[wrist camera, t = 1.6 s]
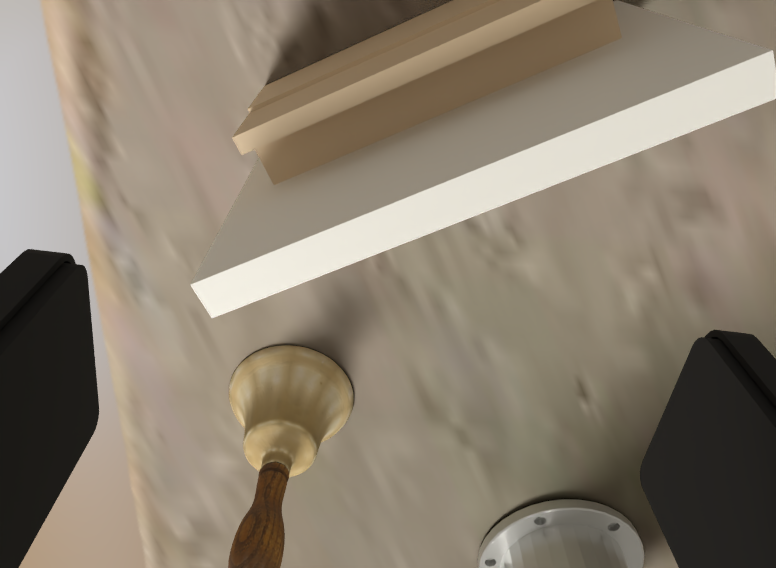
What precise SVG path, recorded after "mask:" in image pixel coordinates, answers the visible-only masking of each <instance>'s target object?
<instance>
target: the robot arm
mask: <svg viewBox="0 0 776 568" xmlns="http://www.w3.org/2000/svg"><path fill="white" fill-rule="evenodd" d="M98 415H99V403H98V391H97V379H96V368H95V357H94V345H93V333H92V322H91V312H90V299H89V288H88V276H87V271H86V268H85V267H84V266H83V265H77V264H75V261H74V259H73V257H72V256H71V255H70V254H67V253H57V252H49V251H40V250H32V249H28V250H26V251H24V252H23V253H22V254H21V255H20V256H19V257H17V258H16V259H15V260H14V261H13V262H12V263H11V264H10V265H9V266H8V267H7V268H6V269H5V270H4V271H3V272H2V273H0V568H19V566H20V564H21V562H22V560H23V559H24V557H25V555H26V553H27V552H28V550H29V548H30V546H31V544H32V543H33V541H34V539H35V537H36V535H37V533H38V532H39V530H40V528H41V526H42V524H43V523H44V521H45V519H46V518H47V516H48V514H49V512H50V510H51V509H52V507H53V505H54V503H55V501H56V500H57V498H58V496H59V494H60V492H61V491H62V489H63V487H64V485H65V484H66V482H67V480H68V478H69V476H70V475H71V473H72V471H73V469H74V467H75V465H76V464H77V462H78V460H79V458H80V457H81V455H82V453H83V451H84V450H85V448H86V446H87V444H88V442H89V441H90V439H91V437H92V435H93V433H94V431H95V429H96V425H97V422H98ZM640 480H641V485H642V488H643V490H644V492H645V494H646V497H647V499H648V501H649V503H650V505H651V508H652V510H653V512H654V514H655V516H656V518H657V521H658V523H659V525H660V527H661V529H662V532H663V534H664V536H665V538H666V540H667V543H668V545H669V547H670V549H671V551H672V553H673V556H674V558H675V560H676V562H677V564H678V567H679V568H776V359H775V358H774V357H773V356H772V355H771V353H770V352H769V351H768V350H767V349H766V348H765V347H764V346H763V344H762V343H761V342H760V341H759V340H758V339H757V338H756V337H755V336H753V335H752V334H746V333H737V332H729V331H720V330H713V331H710V332H709V333H708V334H707V335H706V336H705V338H702V337H701V338H699V339H697V340H696V341H695V342H694V344H693V346H692V348H691V351H690V353H689V355H688V357H687V360H686V362H685V364H684V367H683V369H682V371H681V374H680V376H679V378H678V381H677V383H676V385H675V388H674V390H673V392H672V395H671V397H670V399H669V401H668V404H667V406H666V408H665V411H664V413H663V415H662V418H661V420H660V422H659V425H658V427H657V429H656V432H655V434H654V436H653V438H652V441H651V443H650V445H649V448H648V450H647V452H646V455H645V457H644V459H643V462H642V465H641V470H640ZM644 555H645V554H644V549H643V544H642V542H641V539H640V537H639V535H638V532H637V530H636V529H635V527H634V526H633V525H632V523H631V522H630V521H629V520H628V519H627V518H626V517H625V516H623V515H622V514H621V513H620V512H618V511H616V510H614V509H612V508H610V507H608V506H605V505H602V504H599V503H596V502H591V501H585V500H578V499H561V500H553V501H546V502H542V503H538V504H534V505H531V506H528V507H526V508H523V509H521V510H519V511H516V512H515V513H513V514H511V515H510V516H508V517H506V518H505V519H503V520H502V521H501V522H500V523H498V524H497V525H496V526H495V527H494V528H493V529H492V530H491V531H490V532H489V534H488V535H487V536H486V538H485V539H484V541H483V543H482V545H481V547H480V549H479V554H478V559H477V561H478V568H643V565H644Z"/></svg>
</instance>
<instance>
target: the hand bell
mask: <svg viewBox="0 0 776 568" xmlns="http://www.w3.org/2000/svg"><path fill="white" fill-rule="evenodd" d="M353 398H354V397H353V390H352V386H351V384H350V381H349V379H348V377H347V376H346V374H345V373H344V371H343V370H342V369H341V368H340V367H339V366H338V365H337V364H336V363H335V362H334V361H333V360H331V359H330V358H329V357H326V356H325V355H323V354H322V353H319V352H317V351H315V350H312V349H309V348H305V347H300V346H289V345H282V346H274V347H269V348H265V349H262V350H260V351H258V352H255V353H254V354H252V355H250V356H249V357H248V358H246V359H245V360H244V361H243V362H242V363H241V364H240V365H239V366H238V367H237V369H236V370H235V371H234V373H233V375H232V378H231V381H230V385H229V400H230V404H231V407H232V410H233V412H234V414H235V416H236V418H237V419H238V421H239V422H240V423H241V425H242V426H243V427H244V428H245V435H244V442H243V448H244V453H245V456H246V458H247V460H248V461H249V463H250V464H251V465H252V466H253V467H254V468H256V469H257V470H258V471H259V478H258V483H257V488H256V494H255V499H254V502H253V504H252V506H251V508H250V510H249V511H248V513H247V514H246V515H245V517H244V518H243V520H242V522H241V524H240V526H239V528H238V530H237V532H236V535H235V538H234V541H233V544H232V548H231V551H230V556H229V565H228V568H280V566H281V562H282V557H283V550H284V536H285V533H284V523H283V518H282V501H283V497H284V493H285V489H286V485H287V481H288V479H289V477H292V476H296V475H299V474H301V473H303V472H304V471H306V470H307V469H308V468H309V467H310V466H311V465H312V464H313V462H314V460H315V458H316V455H317V452H318V449H319V446H320V443H321V442H323V441H325V440H327V439H329V438H331V437H332V436H333V435H335V434H336V433H337V432H338V431H339V430H340V429H341V428H342V427H343V426H344V424H345V423H346V422H347V420H348V418H349V416H350V414H351V412H352V408H353Z"/></svg>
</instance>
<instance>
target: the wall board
mask: <svg viewBox="0 0 776 568" xmlns="http://www.w3.org/2000/svg"><path fill="white" fill-rule="evenodd" d="M774 99H776V68H775V61H774V55H773V50H771V49H768V48H765V47H762V46H758V45H755V44H752V43H749V42H746V41H743V40H740V39H737V38H734V37H731V36H727V35H724V34H721V33H718V32H715V31H712V30H709V29H706V28H703V27H699V26H696V25H693V24H690V23H687V22H684V21H681V20H678V19H675V18H672V17H668V16H665V15H662V14H659V13H656V12H653V11H650V10H647V9H644V8H640V7H637V6H634V5H631V4H628V3H625V2H622V1H619V0H616V1H614V2H613V0H452V1H450V2H448V3H446V4H443V5H441V6H439V7H437V8H435V9H433V10H430V11H428V12H426V13H424V14H422V15H419V16H417V17H415V18H413V19H411V20H408V21H406V22H404V23H402V24H400V25H397V26H395V27H393V28H391V29H389V30H386V31H384V32H382V33H380V34H378V35H375V36H373V37H371V38H369V39H367V40H364V41H362V42H360V43H358V44H356V45H353V46H351V47H349V48H347V49H345V50H342V51H340V52H338V53H336V54H334V55H331V56H329V57H327V58H325V59H323V60H320V61H318V62H316V63H314V64H312V65H309V66H307V67H305V68H303V69H301V70H298V71H296V72H294V73H292V74H290V75H287V76H285V77H283V78H281V79H279V80H276V81H274V82H272V83H270V84H268V85H265V86H264V87H263V89H262V90H261V92H260V93H259V94H258V96H257V97H256V98H255V100H254V101H253V102H252V104H251V105H250V106H249V108H248V111H249V115H248V116H247V117H246V119H245V120H244V122H243V123H242V124H241V126H240V127H239V129H238V130H237V131H236V133H235V134H234V136H233V137H232V138H233V140H234V142H235V144H236V146H237V147H238V149H239V151H240V153H241V155H243V154H246V153H248V152H250V151H253V150H255V151H256V153H257V155H258V157H259V158H258V160H257V162H256V164H255V166H254V167H253V169H252V171H251V173H250V175H249V177H248V179H247V180H246V182H245V184H244V186H243V188H242V190H241V192H240V193H239V195H238V197H237V199H236V201H235V203H234V205H233V206H232V208H231V210H230V212H229V214H228V216H227V218H226V219H225V221H224V223H223V225H222V227H221V229H220V231H219V232H218V234H217V236H216V238H215V240H214V242H213V244H212V245H211V247H210V249H209V251H208V253H207V255H206V257H205V258H204V260H203V262H202V264H201V266H200V268H199V269H198V271H197V273H196V275H195V277H194V279H193V281H192V282H191V284H190V285H191V287H192V288H193V290H194V291H195V293H196V294H197V296H198V297H199V299H200V301H201V302H202V304H203V305H204V307H205V308H206V310H207V311H208V313H209V314H210V316H211V318H214V317H217V316H219V315H222V314H224V313H227V312H229V311H232V310H235V309H237V308H240V307H242V306H245V305H247V304H250V303H252V302H255V301H258V300H260V299H263V298H265V297H268V296H270V295H273V294H276V293H278V292H281V291H283V290H286V289H288V288H291V287H294V286H296V285H299V284H301V283H304V282H306V281H309V280H312V279H314V278H317V277H319V276H322V275H324V274H327V273H330V272H332V271H335V270H337V269H340V268H342V267H345V266H347V265H350V264H353V263H355V262H358V261H360V260H363V259H365V258H368V257H371V256H373V255H376V254H378V253H381V252H383V251H386V250H389V249H391V248H394V247H396V246H399V245H401V244H404V243H407V242H409V241H412V240H414V239H417V238H419V237H422V236H425V235H427V234H430V233H432V232H435V231H437V230H440V229H442V228H445V227H448V226H450V225H453V224H455V223H458V222H460V221H463V220H466V219H468V218H471V217H473V216H476V215H478V214H481V213H484V212H486V211H489V210H491V209H494V208H496V207H499V206H502V205H504V204H507V203H509V202H512V201H514V200H517V199H520V198H522V197H525V196H527V195H530V194H532V193H535V192H537V191H540V190H543V189H545V188H548V187H550V186H553V185H555V184H558V183H561V182H563V181H566V180H568V179H571V178H573V177H576V176H579V175H581V174H584V173H586V172H589V171H591V170H594V169H597V168H599V167H602V166H604V165H607V164H609V163H612V162H615V161H617V160H620V159H622V158H625V157H627V156H630V155H632V154H635V153H638V152H640V151H643V150H645V149H648V148H650V147H653V146H656V145H658V144H661V143H663V142H666V141H668V140H671V139H674V138H676V137H679V136H681V135H684V134H686V133H689V132H692V131H694V130H697V129H699V128H702V127H704V126H707V125H710V124H712V123H715V122H717V121H720V120H722V119H725V118H727V117H730V116H733V115H735V114H738V113H740V112H743V111H745V110H748V109H751V108H753V107H756V106H758V105H761V104H763V103H766V102H769V101H771V100H774Z"/></svg>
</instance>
